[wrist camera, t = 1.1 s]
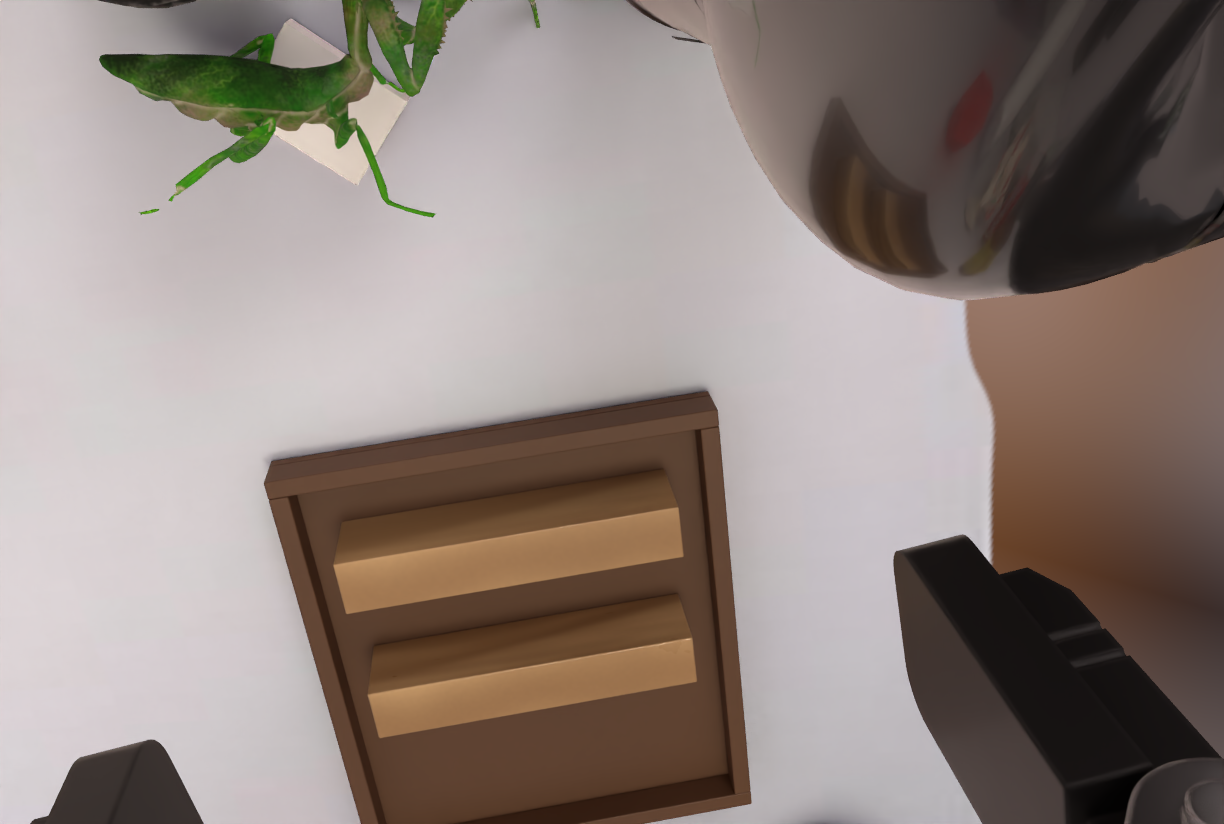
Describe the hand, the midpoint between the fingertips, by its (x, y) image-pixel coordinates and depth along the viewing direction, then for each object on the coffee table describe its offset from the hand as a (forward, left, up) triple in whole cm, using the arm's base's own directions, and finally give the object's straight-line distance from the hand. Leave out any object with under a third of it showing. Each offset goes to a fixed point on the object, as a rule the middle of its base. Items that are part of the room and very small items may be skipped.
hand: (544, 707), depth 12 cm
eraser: (-2, -8, -34) cm, 35 cm away
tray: (+23, -2, -33) cm, 40 cm away
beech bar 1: (+16, -2, -33) cm, 36 cm away
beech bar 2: (+23, -2, -33) cm, 40 cm away
